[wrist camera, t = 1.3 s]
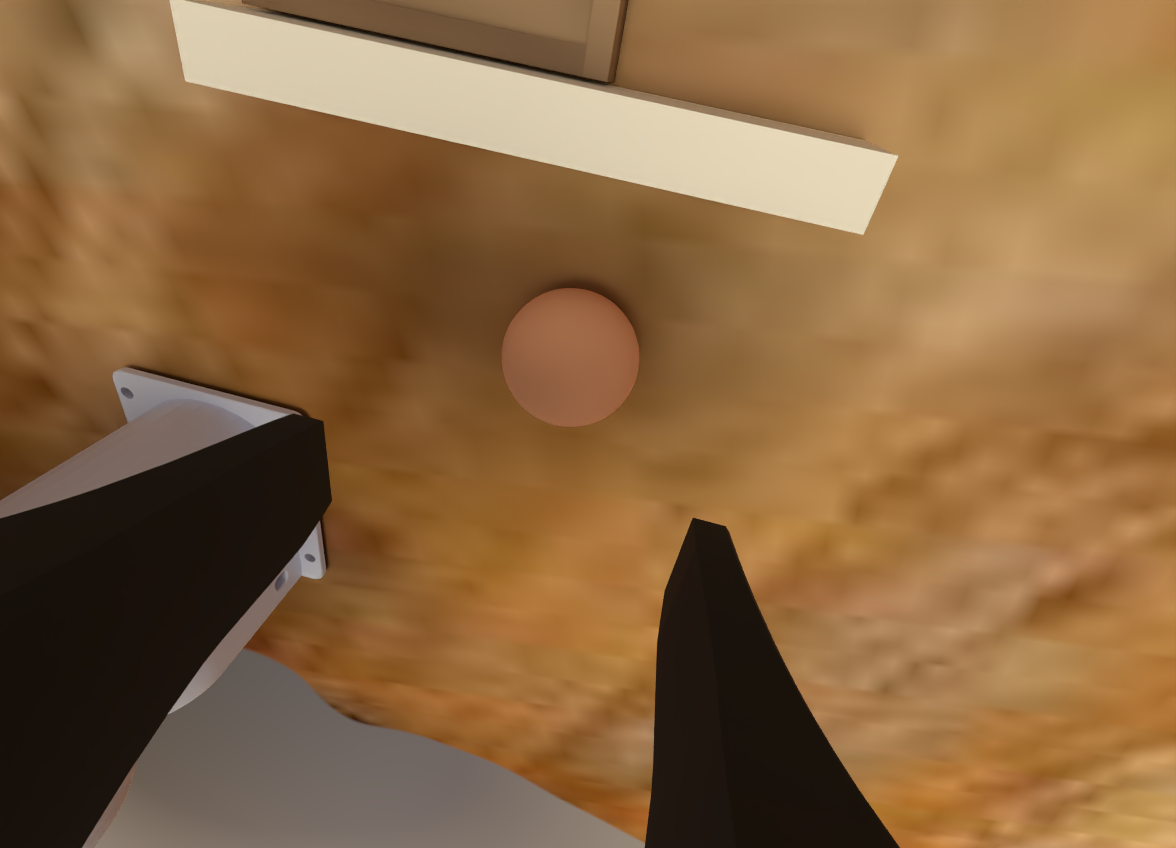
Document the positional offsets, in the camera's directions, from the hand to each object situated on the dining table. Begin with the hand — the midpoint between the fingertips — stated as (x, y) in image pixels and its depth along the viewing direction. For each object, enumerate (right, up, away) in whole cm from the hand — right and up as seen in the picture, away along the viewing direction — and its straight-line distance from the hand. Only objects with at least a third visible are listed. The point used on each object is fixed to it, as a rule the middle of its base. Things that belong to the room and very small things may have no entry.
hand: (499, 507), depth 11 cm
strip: (+1, +10, +4) cm, 11 cm away
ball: (+1, +4, +6) cm, 7 cm away
